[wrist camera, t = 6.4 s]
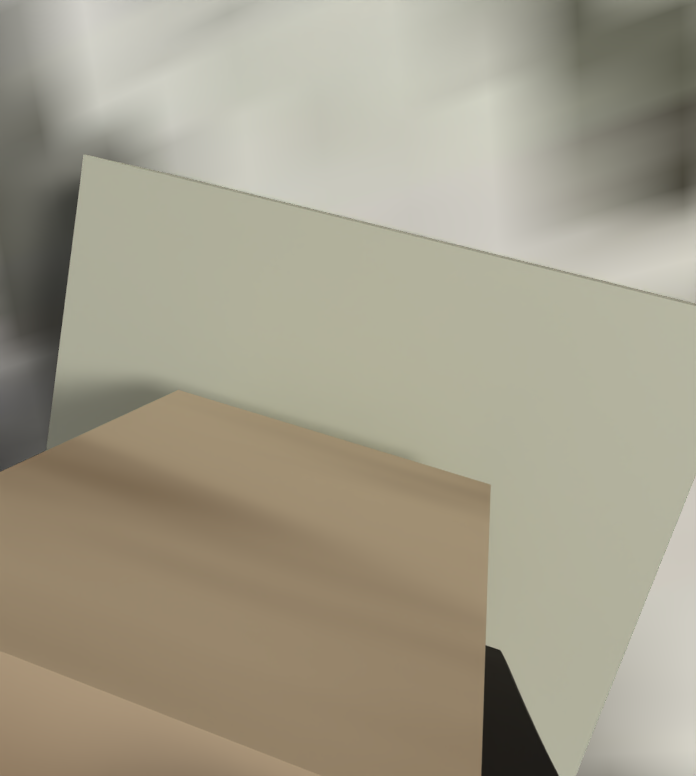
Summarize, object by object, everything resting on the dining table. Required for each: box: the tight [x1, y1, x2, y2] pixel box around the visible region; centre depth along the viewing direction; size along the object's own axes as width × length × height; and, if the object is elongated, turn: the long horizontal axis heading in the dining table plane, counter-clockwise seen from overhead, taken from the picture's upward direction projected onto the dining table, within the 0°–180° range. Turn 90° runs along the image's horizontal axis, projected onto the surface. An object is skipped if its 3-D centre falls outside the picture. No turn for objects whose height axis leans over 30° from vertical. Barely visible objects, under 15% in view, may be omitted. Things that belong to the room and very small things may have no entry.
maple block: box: [0, 390, 491, 776], centre depth 8 cm, size 5×5×6 cm
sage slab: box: [46, 155, 696, 776], centre depth 13 cm, size 11×11×3 cm
